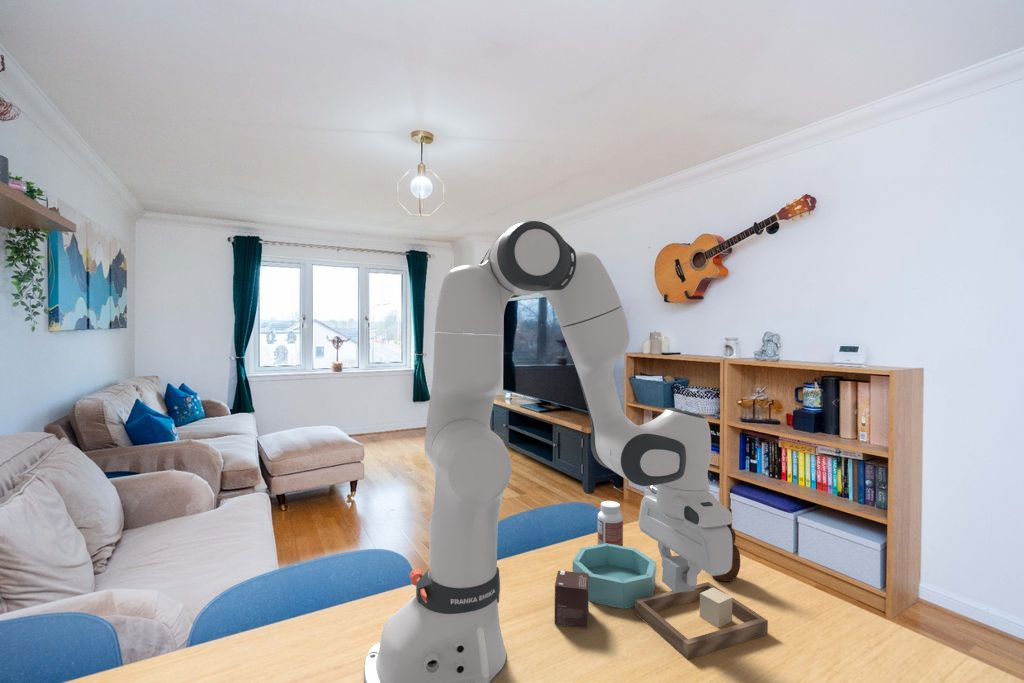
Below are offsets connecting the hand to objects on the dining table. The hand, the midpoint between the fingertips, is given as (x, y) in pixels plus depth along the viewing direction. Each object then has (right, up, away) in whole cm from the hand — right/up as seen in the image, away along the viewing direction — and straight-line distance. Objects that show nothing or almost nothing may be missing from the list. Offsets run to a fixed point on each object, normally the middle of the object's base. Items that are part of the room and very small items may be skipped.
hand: (678, 576), depth 86 cm
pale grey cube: (0, -2, 0) cm, 2 cm away
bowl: (-8, -9, +15) cm, 20 cm away
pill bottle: (-6, -9, +32) cm, 34 cm away
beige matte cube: (+8, -10, +3) cm, 13 cm away
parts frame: (+4, -10, +2) cm, 11 cm away
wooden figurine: (+16, -10, +18) cm, 26 cm away
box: (-19, -10, +3) cm, 21 cm away
